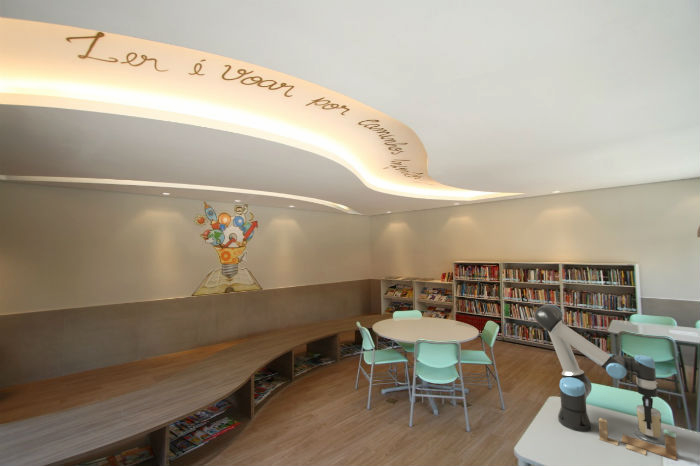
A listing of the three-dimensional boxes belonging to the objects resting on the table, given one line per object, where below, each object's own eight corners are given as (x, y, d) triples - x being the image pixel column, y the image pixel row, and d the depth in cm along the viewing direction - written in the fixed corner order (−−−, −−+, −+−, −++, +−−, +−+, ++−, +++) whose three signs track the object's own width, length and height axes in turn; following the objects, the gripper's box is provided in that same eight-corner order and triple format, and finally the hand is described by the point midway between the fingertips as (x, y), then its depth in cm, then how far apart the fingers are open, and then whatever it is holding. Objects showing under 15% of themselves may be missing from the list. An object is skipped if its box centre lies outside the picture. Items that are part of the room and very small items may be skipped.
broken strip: (599, 439, 155) (598, 420, 155) (600, 436, 158) (599, 417, 158) (645, 455, 143) (644, 434, 143) (646, 451, 145) (644, 431, 146)
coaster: (633, 436, 157) (633, 436, 157) (635, 427, 165) (635, 426, 165) (667, 447, 148) (667, 446, 148) (667, 436, 156) (667, 436, 156)
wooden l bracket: (621, 442, 152) (619, 421, 153) (622, 435, 158) (621, 415, 159) (677, 460, 138) (675, 437, 139) (677, 452, 144) (675, 430, 145)
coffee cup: (667, 439, 151) (666, 415, 152) (645, 437, 153) (643, 413, 154) (654, 429, 160) (652, 405, 161) (633, 426, 162) (631, 403, 163)
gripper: (656, 395, 148) (659, 443, 147) (657, 382, 163) (660, 425, 161) (635, 390, 153) (638, 436, 152) (638, 378, 168) (641, 420, 167)
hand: (649, 431), depth 157 cm, fingers closed on coffee cup, 9 cm apart
